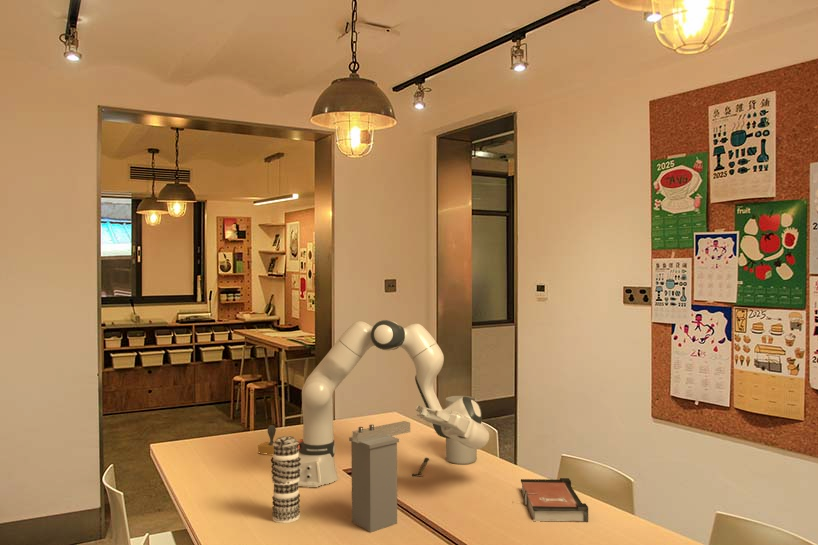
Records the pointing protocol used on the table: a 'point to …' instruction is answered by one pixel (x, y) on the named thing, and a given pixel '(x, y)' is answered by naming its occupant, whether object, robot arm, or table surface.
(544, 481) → the book
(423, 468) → the tomahawk
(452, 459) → the cylinder vase
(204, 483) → the table surface
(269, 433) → the rubber stamp
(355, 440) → the brown wooden bar
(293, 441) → the decorative candle
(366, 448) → the pedestal
